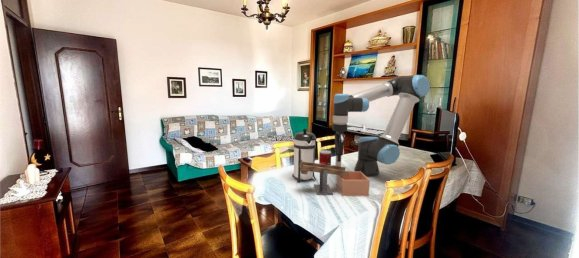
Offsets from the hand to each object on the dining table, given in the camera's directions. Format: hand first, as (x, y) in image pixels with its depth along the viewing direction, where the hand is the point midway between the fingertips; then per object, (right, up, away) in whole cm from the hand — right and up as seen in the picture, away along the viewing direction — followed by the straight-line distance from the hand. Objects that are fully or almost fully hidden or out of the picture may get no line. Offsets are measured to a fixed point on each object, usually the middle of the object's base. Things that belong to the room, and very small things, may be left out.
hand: (338, 166), depth 129 cm
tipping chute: (-9, -3, -3) cm, 10 cm away
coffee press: (-19, -9, +12) cm, 24 cm away
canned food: (-2, -6, +33) cm, 33 cm away
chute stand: (-9, -11, -5) cm, 15 cm away
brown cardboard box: (+6, -12, -4) cm, 14 cm away
